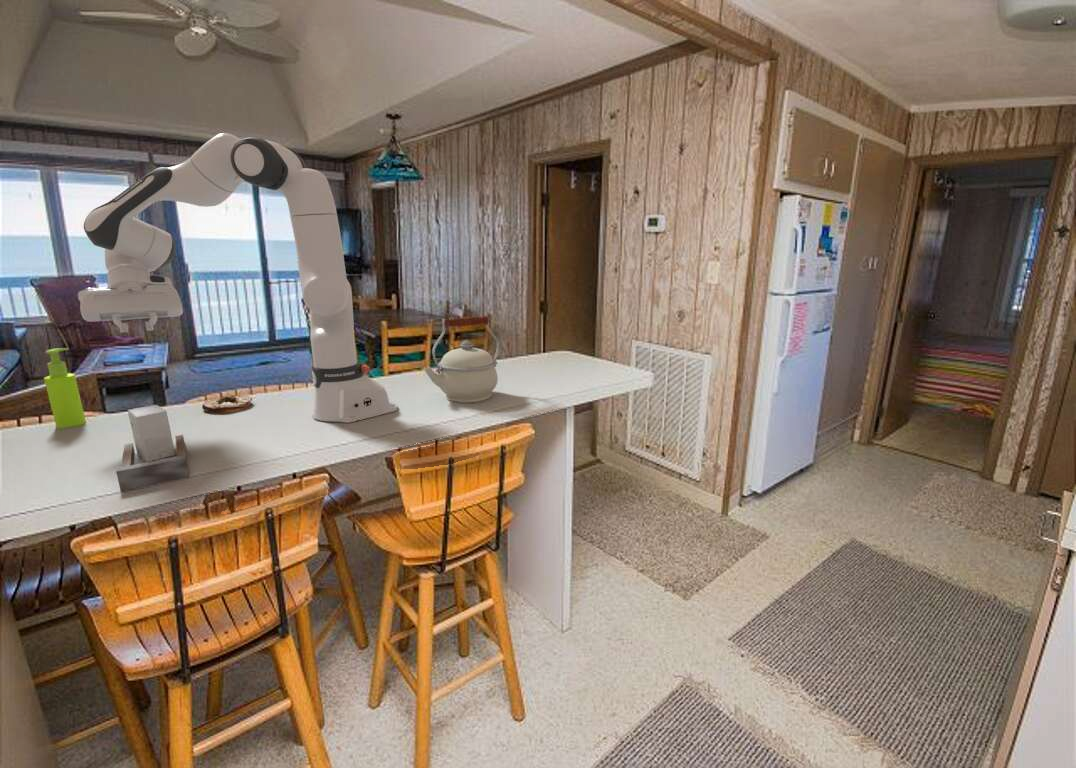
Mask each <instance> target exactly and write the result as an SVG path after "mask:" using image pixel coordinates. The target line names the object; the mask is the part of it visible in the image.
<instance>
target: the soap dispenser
mask: <svg viewBox="0 0 1076 768" xmlns="http://www.w3.org/2000/svg"><path fill="white" fill-rule="evenodd" d="M62 351H69V348H68V347H58V348H56V347H55V348H50V349H47V350H45V351H44V353H45V354H47V355H49V358H50V361H49V362H48V363H47V364H46V365H47V368H48V372H49V375H48V376H44V377H43V381H44V384H45V388H46V391H47V392H46V393H47V395H48V400H49V403H50V408H51V410H52V411H51V412H52V415H53V419H54V424H55V427H56V428H57V427H58V428H57V429H67V427H69V428H74V427H79V426H82V425H85V424H86V423H87V420H86V416H85V412H84V408H83V404H82V399H81V396H80V395H81V394H80V391H79V387H78V383H77V379H76V374H75V373H71V372H70V373H69V372H68V368H67V363H66V362H65V361H63V360H61V359H60V358H61V357H60V354H59V352H62ZM65 427H66V428H65Z"/></svg>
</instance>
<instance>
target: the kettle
mask: <svg viewBox="0 0 1076 768" xmlns="http://www.w3.org/2000/svg"><path fill="white" fill-rule="evenodd" d="M489 320H490V319H489V316H488V315H483V316H468V317H467V316H463V317H454V318H452V319H448V318H442V321H441V322H442V323H441V324H442V332H441V334H440V335H439V336H438V338H437V340H436V341H435V342H434V344H433V347H432V351H431V353H432V355H431V356H432V357H433V360H434V363H435V365H436V367H437V368H436V369H435V371H434V370H433V368H432V367H430V366H424V367H422V368H423V371H424V372H425V373H426V374H427V376H428V377H429V379H430V381H431V382H432V383H433V384H434V385H436V386H437V387H438V388H439V389H440V390H441V391H442V392H443V393H444V394H445V398H446V399H447V400H448V401H450V402H454V403H461V404H462V403H463V404H464V403H465V404H469V403H471V404H472V403H479V402H483V401H486V400H489V398H491V396H492V392H493V391H494V389H495V388H496V386H497V385H498V381H499V380H498V374H497V370H496V368H497V365H498V361H497V359H498V355H499V353H500V342H499V339H498V338H497V337H496V335H495V334H494V333H493V332H492V330H491V328H490V325H489V322H490V321H489ZM481 324H483V325H485V326H486V327H485V328H486V329H487V332H488V333H489V334H490V335H491V336H492V337H493V339H494V341H495V342H496V349H495V353H494V357H492V355H491V354H490V353H489V352H488V351H486V350H484V349H482V348H476V347H473V346H474V344H473V342H472V341H470V340H469V339H465V340H463V341H462V342H461V344H460V348H459V347H458V348H454V349H452V350H449V351H447V352H446V353H445V354H444V355H443V356H442V358H441V360H440V361H439V362H438V360H437V358H436V349H437V346H438V345H439V343H440V342H441V340H442V339H443V337H444V335H445V333H446V329H447V328H449V327H467V326H476V325H481Z"/></svg>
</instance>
